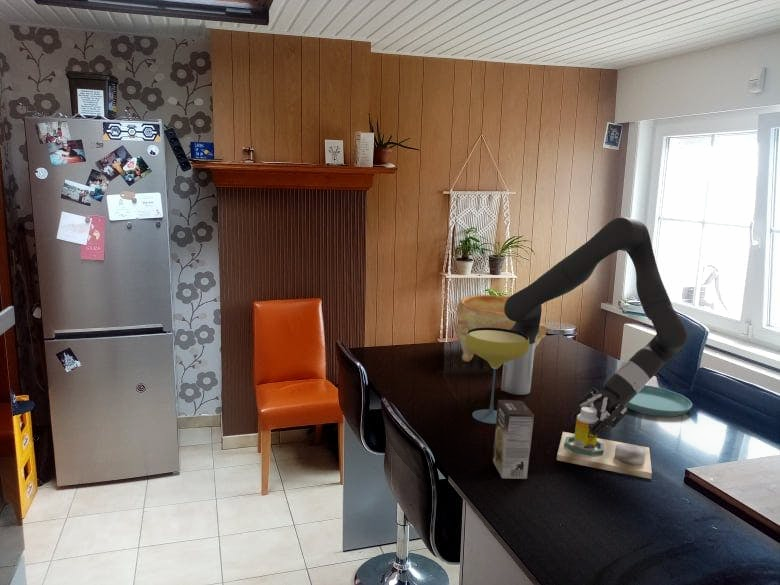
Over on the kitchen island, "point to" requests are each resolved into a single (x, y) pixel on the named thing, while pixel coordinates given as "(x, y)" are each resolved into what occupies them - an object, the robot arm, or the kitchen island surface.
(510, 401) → the coffee box
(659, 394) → the saucer
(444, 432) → the kitchen island surface
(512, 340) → the cocktail glass
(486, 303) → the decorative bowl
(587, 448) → the supplement bottle
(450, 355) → the kitchen island surface
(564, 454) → the carrier board
